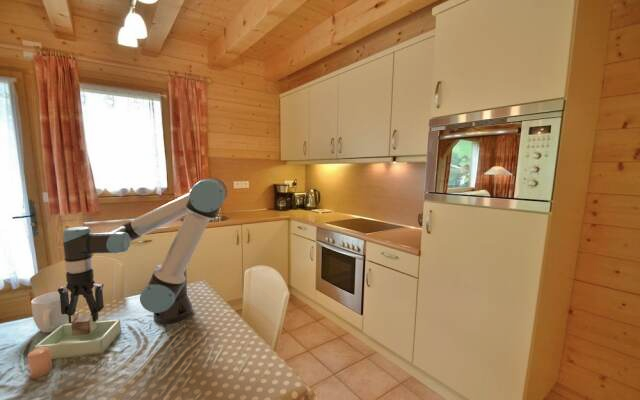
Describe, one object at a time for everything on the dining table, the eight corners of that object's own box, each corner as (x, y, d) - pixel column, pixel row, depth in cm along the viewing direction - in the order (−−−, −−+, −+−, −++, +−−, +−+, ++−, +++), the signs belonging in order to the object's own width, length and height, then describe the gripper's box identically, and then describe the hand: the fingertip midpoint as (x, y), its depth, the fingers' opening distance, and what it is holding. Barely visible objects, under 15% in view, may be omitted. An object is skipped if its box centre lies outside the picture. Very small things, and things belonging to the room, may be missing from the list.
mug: (67, 335, 108) (64, 303, 106) (27, 345, 102) (23, 311, 100) (74, 317, 120) (71, 288, 119) (38, 325, 114) (35, 295, 113)
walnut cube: (95, 326, 107) (95, 314, 107) (88, 334, 102) (87, 321, 102) (80, 327, 106) (80, 315, 106) (72, 335, 101) (71, 322, 101)
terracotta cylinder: (56, 365, 92) (54, 345, 91) (44, 376, 87) (42, 356, 86) (38, 367, 91) (35, 347, 90) (25, 379, 86) (22, 358, 85)
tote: (121, 331, 111) (120, 319, 110) (101, 354, 98) (100, 340, 97) (63, 336, 107) (62, 324, 106) (35, 360, 94) (33, 347, 93)
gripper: (113, 264, 107) (116, 322, 110) (58, 267, 104) (63, 326, 106) (102, 272, 100) (106, 333, 103) (42, 275, 96) (48, 338, 99)
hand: (84, 329), depth 105 cm, fingers closed on walnut cube, 5 cm apart
